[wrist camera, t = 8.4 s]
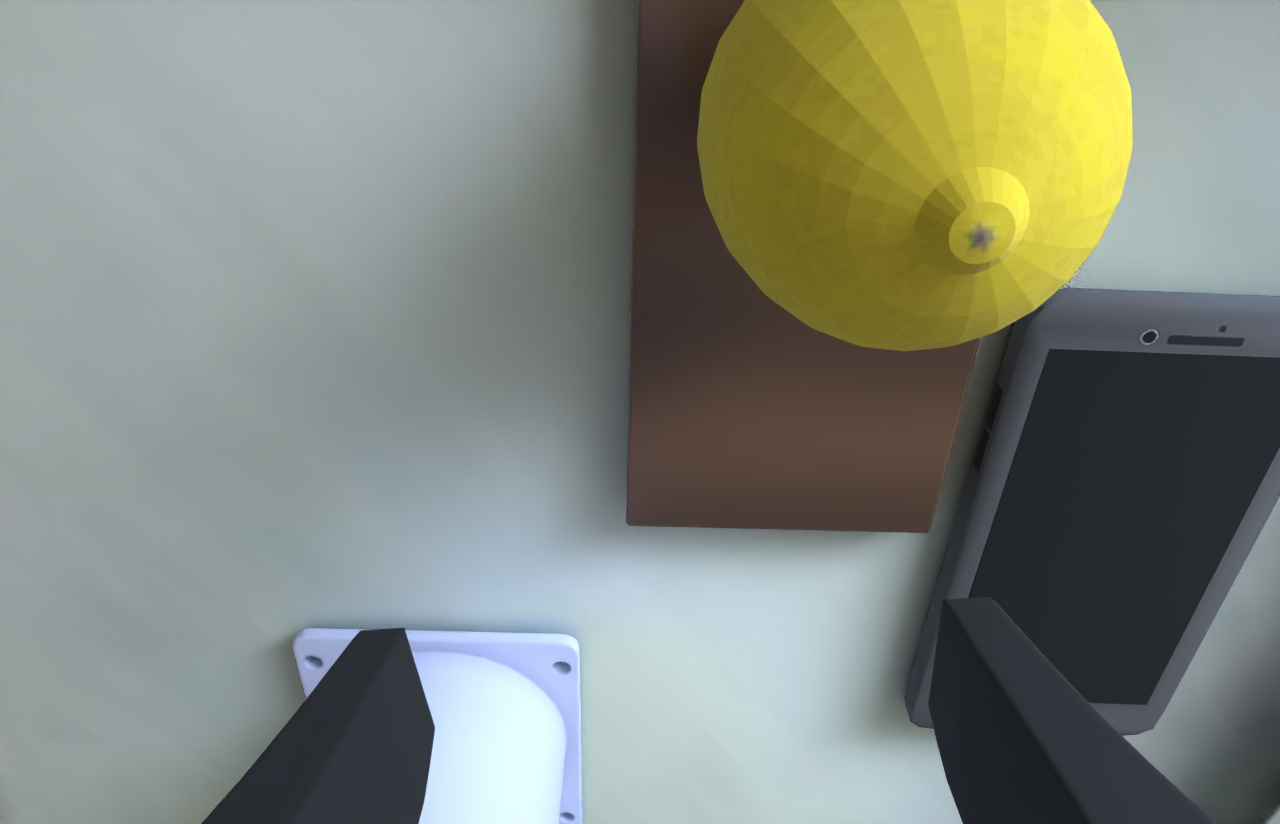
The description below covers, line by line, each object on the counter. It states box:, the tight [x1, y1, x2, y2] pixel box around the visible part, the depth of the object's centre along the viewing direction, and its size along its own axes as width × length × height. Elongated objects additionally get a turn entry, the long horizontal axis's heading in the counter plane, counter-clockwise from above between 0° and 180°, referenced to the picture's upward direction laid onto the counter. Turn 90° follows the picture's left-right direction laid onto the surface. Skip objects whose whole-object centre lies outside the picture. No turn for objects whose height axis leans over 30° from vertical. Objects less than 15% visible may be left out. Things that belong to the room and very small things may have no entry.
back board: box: [626, 0, 980, 533], centre depth 16 cm, size 20×8×1 cm, turn 179°
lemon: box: [697, 0, 1133, 351], centre depth 12 cm, size 6×6×8 cm
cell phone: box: [905, 288, 1280, 736], centre depth 22 cm, size 7×14×1 cm, turn 178°
